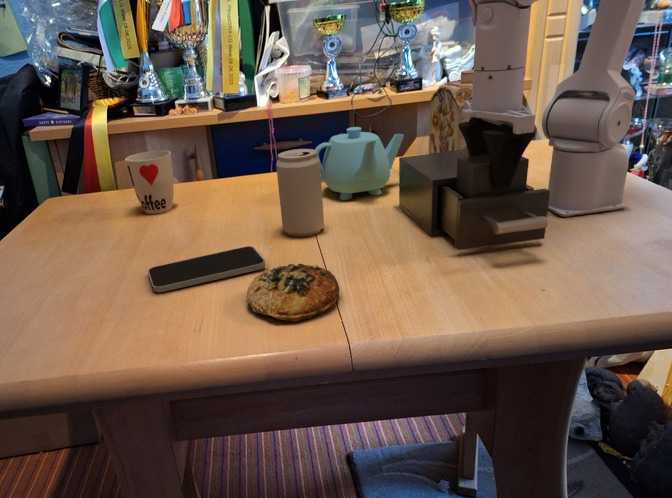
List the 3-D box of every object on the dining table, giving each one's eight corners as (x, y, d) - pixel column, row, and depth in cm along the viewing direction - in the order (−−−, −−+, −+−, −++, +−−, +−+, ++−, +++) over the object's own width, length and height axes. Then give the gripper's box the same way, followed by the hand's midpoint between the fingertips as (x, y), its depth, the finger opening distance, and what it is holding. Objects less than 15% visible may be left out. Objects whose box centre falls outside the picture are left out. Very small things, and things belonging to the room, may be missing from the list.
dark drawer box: (565, 251, 68) (572, 201, 65) (474, 264, 67) (477, 214, 64) (495, 208, 84) (499, 166, 81) (421, 218, 83) (422, 176, 80)
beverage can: (321, 237, 83) (316, 156, 77) (279, 239, 84) (271, 159, 79) (326, 223, 88) (322, 146, 83) (286, 224, 90) (279, 148, 84)
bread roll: (352, 282, 67) (347, 245, 65) (323, 339, 59) (316, 300, 57) (270, 277, 72) (262, 243, 70) (232, 329, 64) (221, 293, 61)
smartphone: (147, 268, 77) (251, 244, 80) (148, 274, 77) (252, 250, 80) (153, 288, 70) (266, 262, 74) (154, 295, 71) (267, 268, 74)
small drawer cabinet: (517, 225, 79) (523, 168, 76) (431, 237, 79) (432, 180, 75) (473, 197, 92) (476, 147, 89) (399, 207, 92) (399, 157, 88)
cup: (128, 215, 103) (115, 161, 98) (152, 202, 109) (141, 150, 105) (165, 217, 100) (154, 161, 95) (188, 203, 106) (178, 150, 102)
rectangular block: (506, 183, 75) (509, 150, 73) (525, 193, 71) (529, 159, 69) (455, 190, 75) (457, 157, 73) (471, 201, 70) (473, 166, 68)
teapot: (412, 184, 102) (413, 120, 97) (375, 206, 93) (374, 137, 88) (341, 178, 111) (338, 119, 106) (301, 197, 102) (295, 134, 97)
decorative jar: (455, 183, 100) (460, 76, 92) (426, 169, 110) (428, 71, 102) (516, 174, 101) (526, 67, 93) (482, 161, 112) (489, 63, 104)
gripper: (442, 68, 72) (439, 172, 78) (494, 77, 59) (485, 201, 65) (495, 61, 73) (488, 165, 79) (558, 69, 60) (544, 193, 66)
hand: (490, 181), depth 72 cm, fingers closed on rectangular block, 5 cm apart
